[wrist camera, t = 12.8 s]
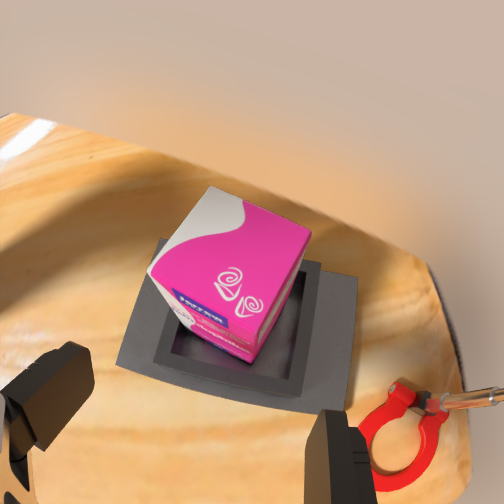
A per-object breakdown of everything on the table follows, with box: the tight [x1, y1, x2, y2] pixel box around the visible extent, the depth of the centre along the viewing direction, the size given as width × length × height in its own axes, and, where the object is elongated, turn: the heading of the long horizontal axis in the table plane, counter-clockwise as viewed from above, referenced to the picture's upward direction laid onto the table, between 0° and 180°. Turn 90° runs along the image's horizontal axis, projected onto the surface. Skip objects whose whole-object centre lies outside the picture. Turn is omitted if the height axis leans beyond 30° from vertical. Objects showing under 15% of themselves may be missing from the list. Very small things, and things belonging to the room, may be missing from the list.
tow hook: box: [358, 382, 504, 492], centre depth 14 cm, size 8×13×9 cm
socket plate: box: [115, 238, 358, 415], centre depth 22 cm, size 18×12×4 cm, turn 78°
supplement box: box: [147, 186, 312, 366], centre depth 18 cm, size 6×6×12 cm
